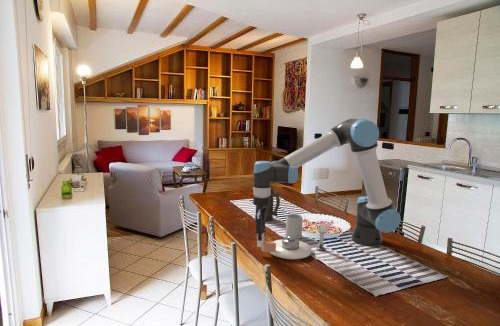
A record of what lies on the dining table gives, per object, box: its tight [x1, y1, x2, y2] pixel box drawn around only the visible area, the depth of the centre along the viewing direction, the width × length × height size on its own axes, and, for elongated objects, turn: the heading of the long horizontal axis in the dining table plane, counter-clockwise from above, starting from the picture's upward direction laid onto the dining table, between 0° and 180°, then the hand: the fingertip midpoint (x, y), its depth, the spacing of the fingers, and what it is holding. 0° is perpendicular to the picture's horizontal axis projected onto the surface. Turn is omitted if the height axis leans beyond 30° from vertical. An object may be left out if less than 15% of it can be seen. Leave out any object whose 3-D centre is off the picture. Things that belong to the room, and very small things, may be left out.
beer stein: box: [255, 186, 281, 222], centre depth 210 cm, size 15×11×20 cm
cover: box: [281, 235, 300, 250], centre depth 162 cm, size 8×8×5 cm
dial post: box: [316, 223, 328, 252], centre depth 166 cm, size 4×4×13 cm
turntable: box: [260, 239, 312, 260], centre depth 161 cm, size 24×20×5 cm
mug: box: [284, 213, 304, 240], centre depth 184 cm, size 12×8×11 cm
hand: (260, 246), depth 159 cm, fingers closed
